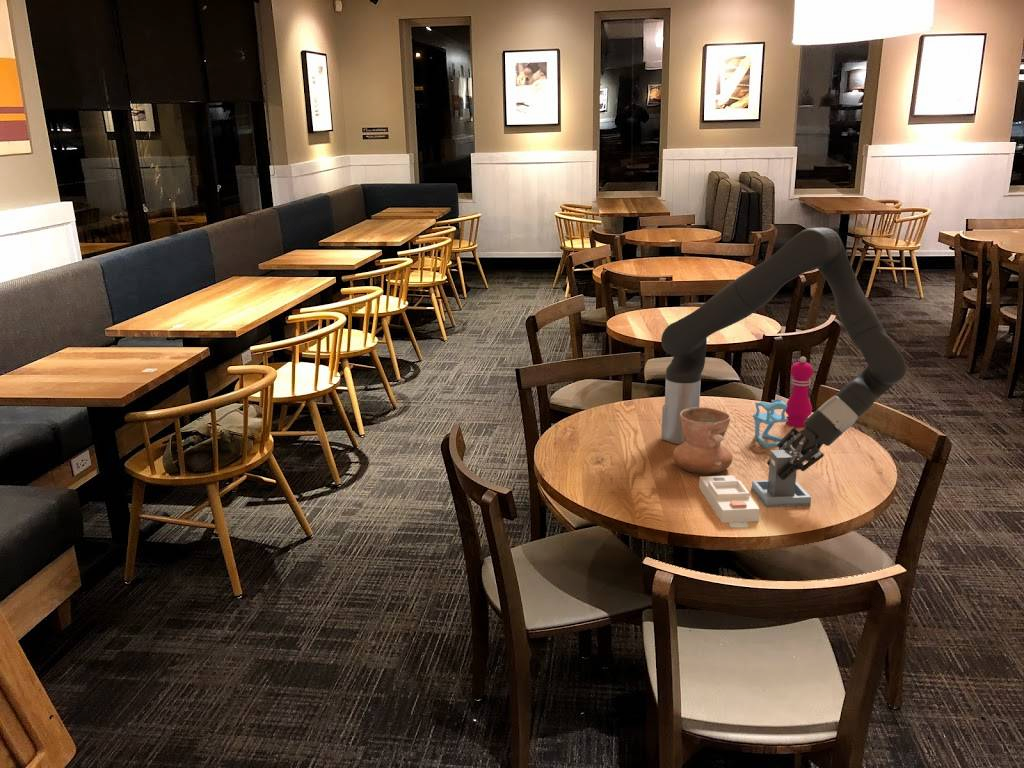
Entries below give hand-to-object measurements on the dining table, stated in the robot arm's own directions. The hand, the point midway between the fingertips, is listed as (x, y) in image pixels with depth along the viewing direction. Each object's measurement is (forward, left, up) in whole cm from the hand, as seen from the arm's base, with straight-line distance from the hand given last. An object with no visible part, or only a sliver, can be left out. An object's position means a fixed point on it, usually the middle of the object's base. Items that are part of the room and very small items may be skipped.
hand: (774, 471), depth 185 cm
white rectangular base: (-8, -8, -6) cm, 13 cm away
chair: (-7, +36, -7) cm, 37 cm away
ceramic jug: (-19, +11, -7) cm, 23 cm away
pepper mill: (-2, +53, -7) cm, 53 cm away
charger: (+2, +1, -6) cm, 6 cm away
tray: (+2, +1, -6) cm, 7 cm away
